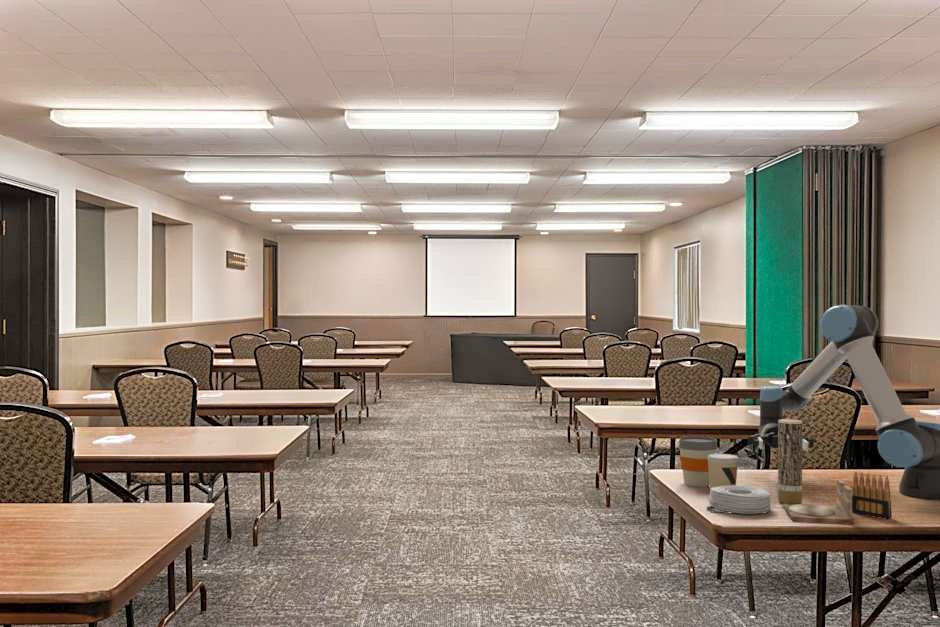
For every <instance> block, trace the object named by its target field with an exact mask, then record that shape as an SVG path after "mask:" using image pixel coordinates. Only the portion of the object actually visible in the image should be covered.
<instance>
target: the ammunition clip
mask: <svg viewBox="0 0 940 627" xmlns="http://www.w3.org/2000/svg"><path fill="white" fill-rule="evenodd" d="M870 477H871V476H870V474H869V472H867V473H866V476H865V477H864V473H863V472H861V473H860V474H859V477H858V473H857V471H855V472H854V474H853V479H852V480H853V482H852V512H853V513H852V514H855V513H858V514H857V515H861V514H863V516H866V515H869V516H868V517H871V516H875V517H874V518H877V517H881V518H880V519H882V518H886V519H885V520H888V519H889V520H891V519H890V518H892V500H891V490H890V489H891V487H890V479H889V476H887V475H886V476H885V480H884V481H883V477H882V475H881V474H880V475H879V476H878V480H877V477H876V475H875V473H873V474H872V479H871V478H870ZM892 519H893V518H892Z"/></svg>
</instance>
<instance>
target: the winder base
mask: <svg viewBox="0 0 940 627" xmlns="http://www.w3.org/2000/svg"><path fill="white" fill-rule="evenodd" d="M852 495H853V488H851V487H850V486H849V485H846V483H845V482H844V481H843V480H842V479H836V505H823V504H821V505H818V504H809V503H801V504H783V503H782V508H783V510H784V509H785V510H784V511H785V513H786V515H787V516H788V517H790V518H789V519H790V521H791V520H792V521H791V522H801V521H811V522H810V523H821V522H825V523H824V524H840V523H849V524H848V525H854V524H855V519H854V518H853V513H852Z"/></svg>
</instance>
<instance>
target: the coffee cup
mask: <svg viewBox="0 0 940 627" xmlns="http://www.w3.org/2000/svg"><path fill="white" fill-rule="evenodd" d="M707 459H708V470H709V484H710V486H709V491H710V490H711V488H713V487H720V486H737V477H738V476H737V475H738V461H739V459H738V456H737V455H734V454H729V453H716V454H710V455H709V456H708V458H707Z"/></svg>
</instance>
